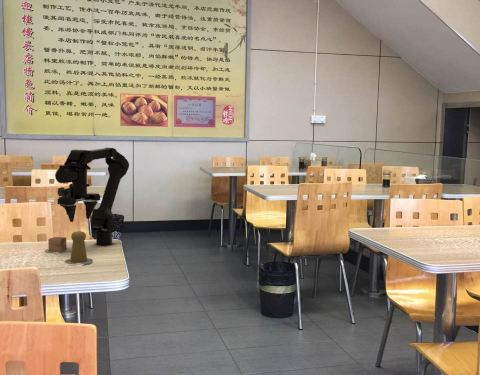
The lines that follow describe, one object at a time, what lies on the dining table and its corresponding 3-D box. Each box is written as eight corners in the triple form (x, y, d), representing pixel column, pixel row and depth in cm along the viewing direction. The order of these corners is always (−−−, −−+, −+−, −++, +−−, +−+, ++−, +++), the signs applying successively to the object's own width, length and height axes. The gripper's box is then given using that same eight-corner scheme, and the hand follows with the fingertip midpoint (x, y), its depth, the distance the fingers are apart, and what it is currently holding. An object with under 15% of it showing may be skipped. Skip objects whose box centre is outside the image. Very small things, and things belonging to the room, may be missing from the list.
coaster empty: (77, 258, 204) (77, 256, 204) (98, 261, 200) (98, 259, 200) (58, 263, 195) (58, 262, 195) (80, 267, 191) (80, 265, 191)
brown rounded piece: (82, 263, 194) (81, 233, 193) (67, 262, 195) (66, 232, 194) (90, 259, 200) (90, 230, 198) (75, 258, 201) (75, 229, 200)
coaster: (57, 248, 220) (57, 246, 220) (76, 251, 216) (76, 249, 216) (38, 252, 211) (38, 251, 211) (58, 255, 207) (57, 254, 207)
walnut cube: (55, 248, 216) (54, 236, 216) (66, 249, 215) (66, 237, 215) (48, 251, 211) (48, 239, 211) (60, 252, 210) (60, 239, 210)
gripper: (80, 178, 222) (80, 215, 224) (46, 181, 206) (47, 221, 207) (101, 180, 218) (101, 217, 219) (68, 183, 201) (69, 224, 203)
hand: (79, 220), depth 212 cm, fingers open, 9 cm apart
